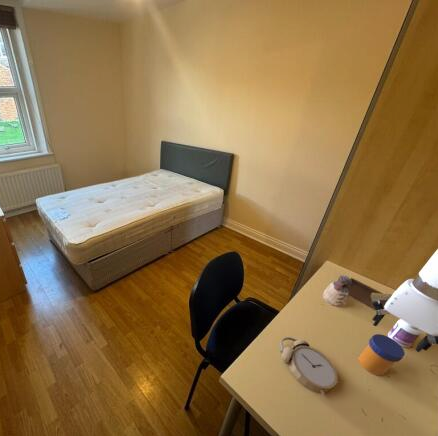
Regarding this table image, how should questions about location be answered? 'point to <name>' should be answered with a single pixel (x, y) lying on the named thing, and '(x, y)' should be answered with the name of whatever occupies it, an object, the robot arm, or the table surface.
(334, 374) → the alarm clock
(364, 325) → the table surface
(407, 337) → the pill bottle
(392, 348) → the lid
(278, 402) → the table surface
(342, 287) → the figurine
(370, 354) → the jar
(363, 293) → the tray
